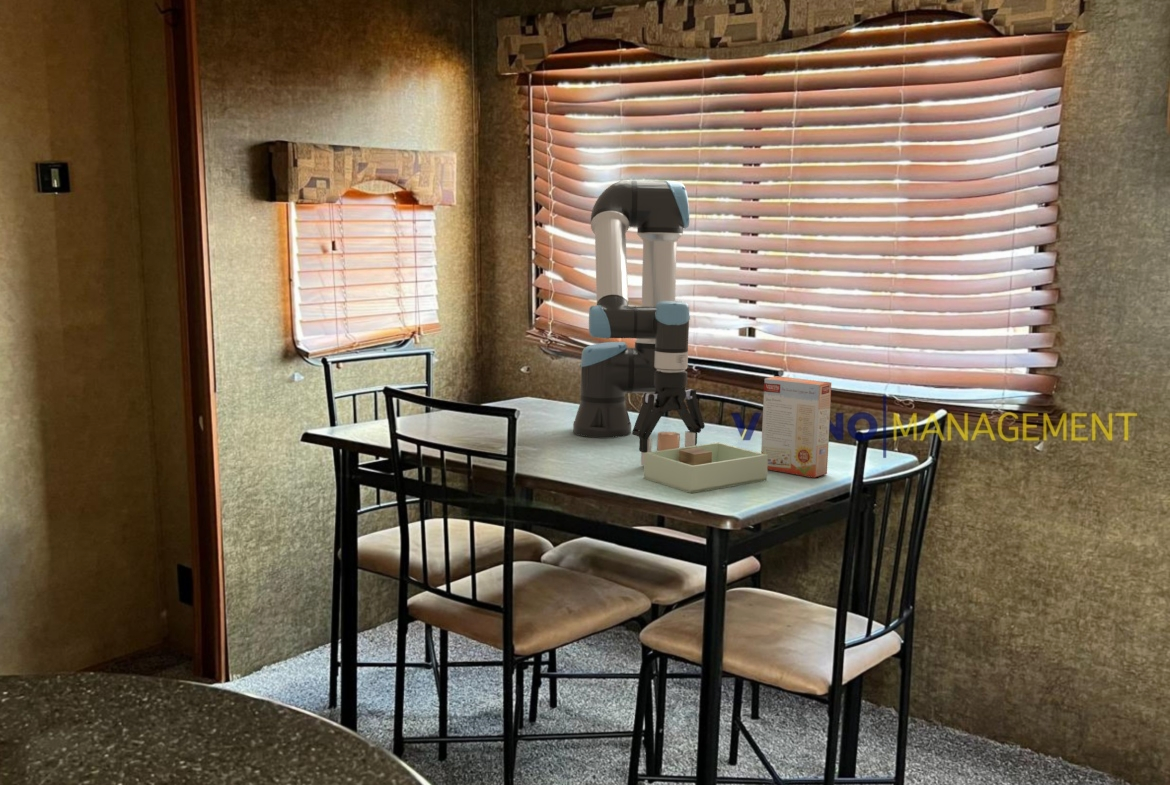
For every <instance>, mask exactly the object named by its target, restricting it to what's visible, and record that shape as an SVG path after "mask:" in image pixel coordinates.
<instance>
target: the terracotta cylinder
mask: <svg viewBox="0 0 1170 785" xmlns="http://www.w3.org/2000/svg"><path fill="white" fill-rule="evenodd" d="M680 438H681V434H680V433H679V432H675V431H660V432H657V448H656V449H657V450H656V451H661V450H668V449H675V448H680V443H681V442H680V441H681V440H680Z"/></svg>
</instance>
